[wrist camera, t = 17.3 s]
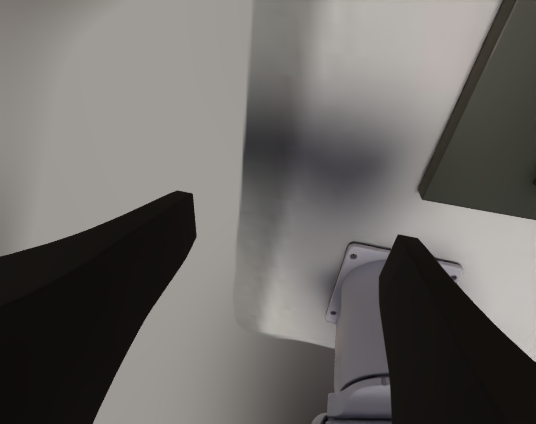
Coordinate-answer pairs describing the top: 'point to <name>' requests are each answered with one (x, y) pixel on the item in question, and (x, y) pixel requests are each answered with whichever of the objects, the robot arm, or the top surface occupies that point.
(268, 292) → the top surface
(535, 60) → the slate board
